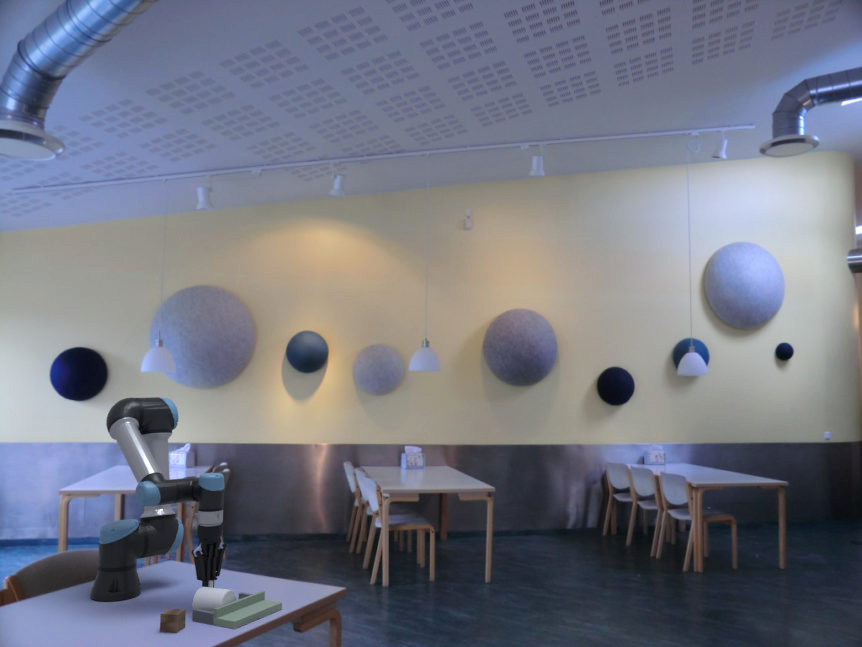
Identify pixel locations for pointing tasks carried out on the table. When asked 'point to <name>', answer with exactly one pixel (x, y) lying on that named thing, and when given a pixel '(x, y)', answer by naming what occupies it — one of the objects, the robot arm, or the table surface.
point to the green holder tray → (238, 611)
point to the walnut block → (172, 620)
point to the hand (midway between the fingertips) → (207, 602)
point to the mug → (212, 598)
